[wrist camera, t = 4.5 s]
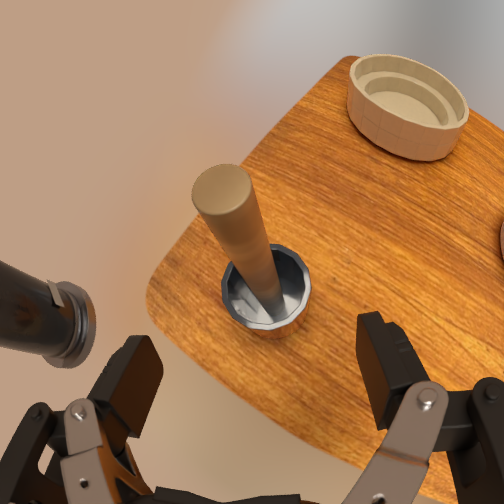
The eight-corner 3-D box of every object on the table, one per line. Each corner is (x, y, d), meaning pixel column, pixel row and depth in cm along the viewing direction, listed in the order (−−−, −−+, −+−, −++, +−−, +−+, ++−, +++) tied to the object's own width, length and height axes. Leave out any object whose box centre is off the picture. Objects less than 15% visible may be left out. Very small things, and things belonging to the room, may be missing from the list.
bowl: (338, 143, 29) (342, 103, 24) (353, 77, 34) (355, 45, 28) (458, 180, 25) (478, 147, 20) (446, 105, 30) (457, 75, 24)
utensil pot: (233, 326, 24) (208, 313, 17) (255, 267, 25) (240, 233, 19) (295, 347, 22) (293, 343, 16) (316, 284, 24) (321, 255, 18)
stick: (260, 311, 23) (180, 207, 8) (268, 292, 24) (206, 159, 8) (281, 318, 23) (237, 221, 7) (288, 298, 23) (260, 168, 8)
